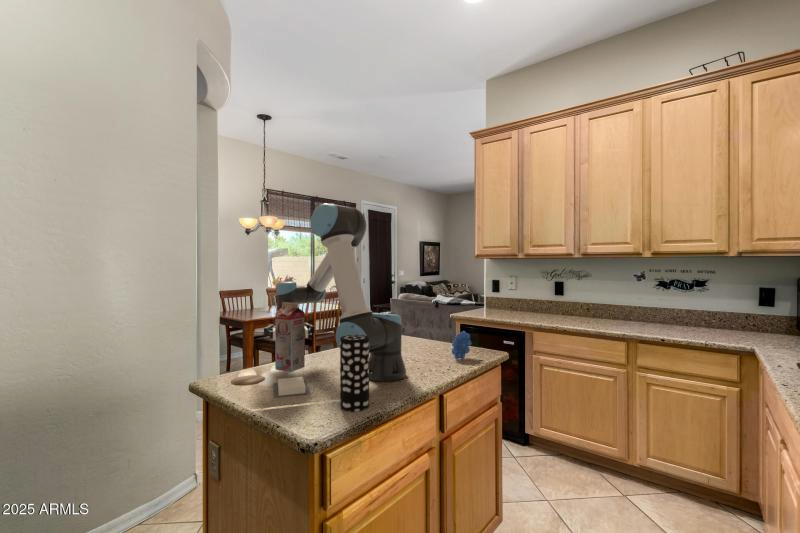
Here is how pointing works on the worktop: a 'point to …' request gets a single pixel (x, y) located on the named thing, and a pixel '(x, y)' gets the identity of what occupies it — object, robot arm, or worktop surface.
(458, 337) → the grapes
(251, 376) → the coaster
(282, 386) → the tile
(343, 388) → the spotted tube
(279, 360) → the juice carton
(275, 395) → the mat
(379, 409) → the worktop surface
